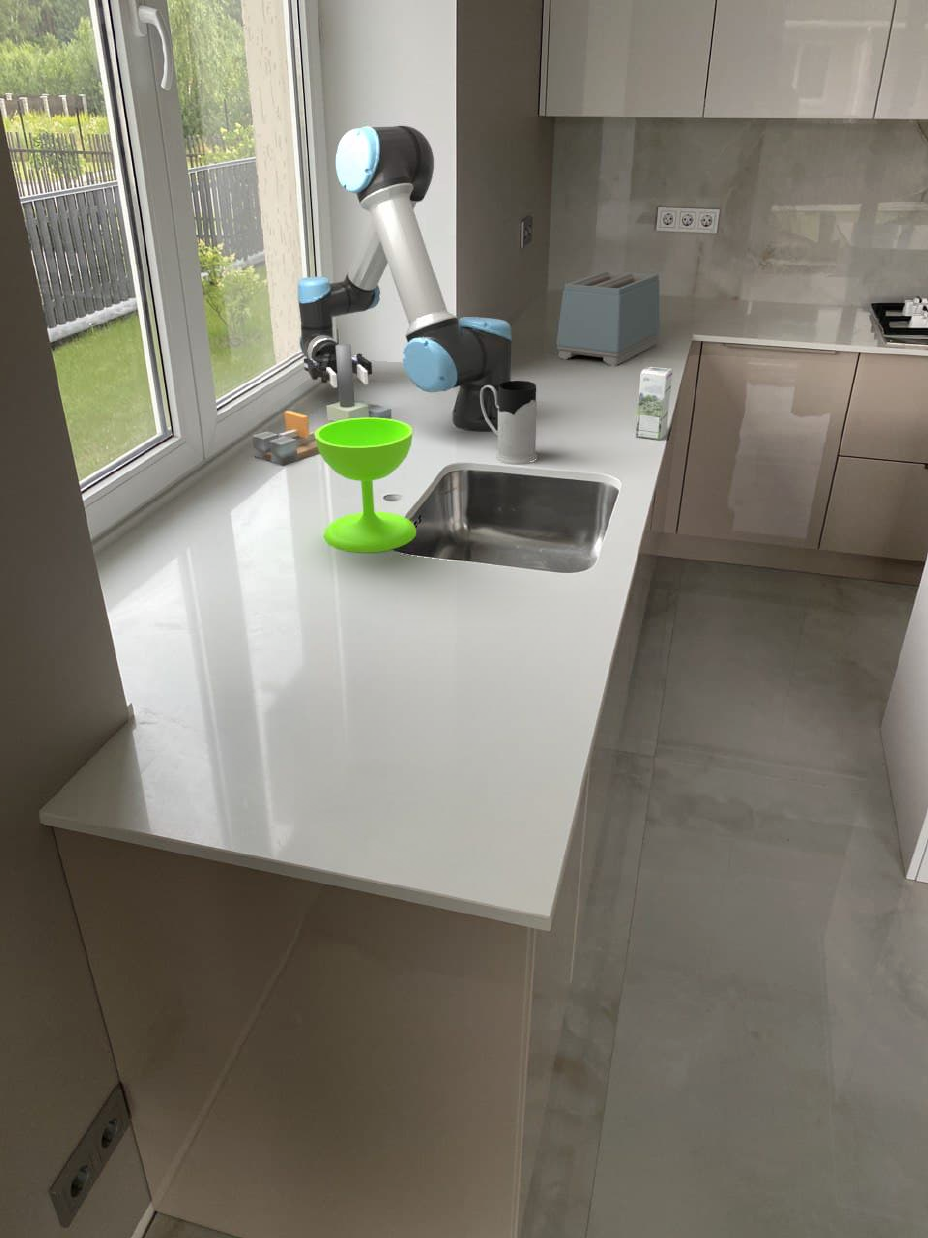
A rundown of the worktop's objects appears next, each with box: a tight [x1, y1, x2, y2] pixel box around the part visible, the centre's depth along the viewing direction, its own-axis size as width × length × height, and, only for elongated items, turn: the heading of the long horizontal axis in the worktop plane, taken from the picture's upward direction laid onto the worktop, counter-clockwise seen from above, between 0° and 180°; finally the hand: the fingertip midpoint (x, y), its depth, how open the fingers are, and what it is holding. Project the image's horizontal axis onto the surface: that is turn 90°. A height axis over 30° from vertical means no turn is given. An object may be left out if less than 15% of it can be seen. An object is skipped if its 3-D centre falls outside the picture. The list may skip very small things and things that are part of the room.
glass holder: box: [480, 380, 538, 465], centre depth 195 cm, size 9×14×15 cm, turn 48°
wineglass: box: [314, 418, 417, 554], centre depth 159 cm, size 16×16×18 cm
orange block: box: [278, 410, 310, 438], centre depth 198 cm, size 6×5×4 cm
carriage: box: [325, 343, 369, 422], centre depth 206 cm, size 7×6×16 cm
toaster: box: [555, 269, 661, 367], centre depth 274 cm, size 19×35×20 cm, turn 148°
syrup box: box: [635, 366, 673, 441], centre depth 205 cm, size 6×6×14 cm
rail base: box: [252, 401, 392, 467], centre depth 206 cm, size 9×32×4 cm, turn 140°
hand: (350, 379), depth 201 cm, fingers open, 6 cm apart
